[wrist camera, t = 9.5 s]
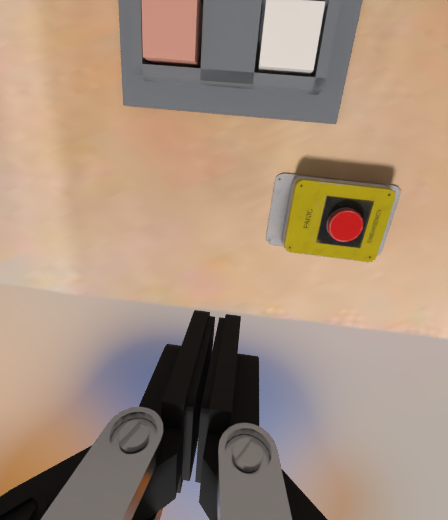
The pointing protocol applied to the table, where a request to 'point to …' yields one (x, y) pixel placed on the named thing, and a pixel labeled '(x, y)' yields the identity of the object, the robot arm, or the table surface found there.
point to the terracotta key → (172, 32)
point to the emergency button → (331, 216)
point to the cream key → (290, 36)
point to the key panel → (240, 66)
